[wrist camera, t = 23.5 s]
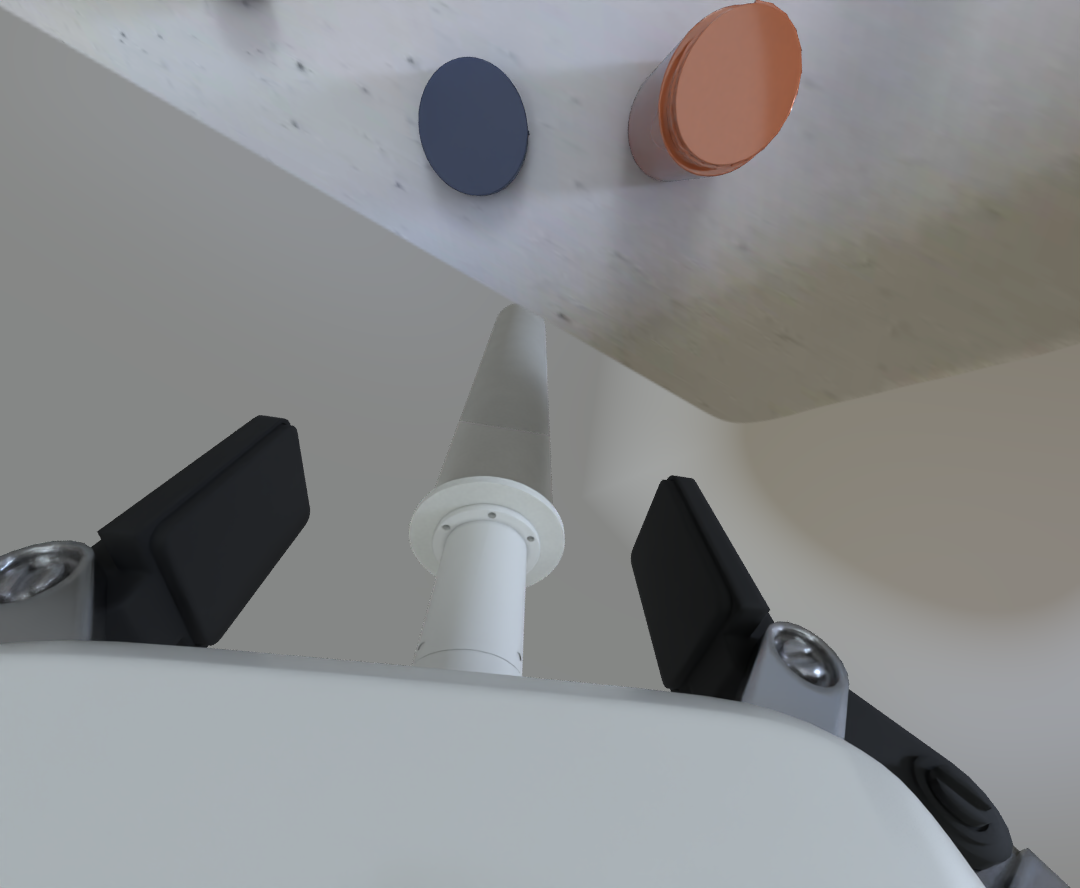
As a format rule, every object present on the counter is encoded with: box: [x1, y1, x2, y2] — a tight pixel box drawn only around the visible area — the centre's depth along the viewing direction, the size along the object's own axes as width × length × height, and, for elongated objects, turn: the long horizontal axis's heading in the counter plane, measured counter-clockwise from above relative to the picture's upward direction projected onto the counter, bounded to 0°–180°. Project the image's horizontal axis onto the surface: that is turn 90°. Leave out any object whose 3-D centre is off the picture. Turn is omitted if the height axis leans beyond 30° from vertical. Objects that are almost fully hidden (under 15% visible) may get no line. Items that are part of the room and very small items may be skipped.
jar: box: [628, 0, 802, 182], centre depth 22 cm, size 6×6×10 cm
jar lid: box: [419, 57, 529, 196], centre depth 26 cm, size 7×7×2 cm
